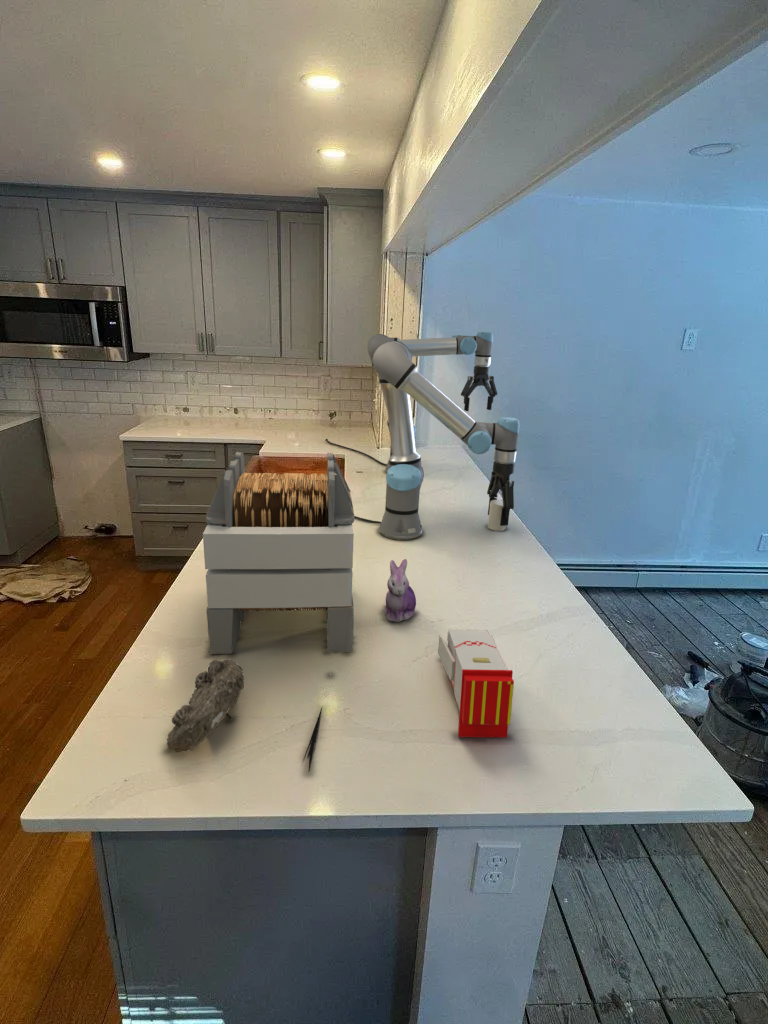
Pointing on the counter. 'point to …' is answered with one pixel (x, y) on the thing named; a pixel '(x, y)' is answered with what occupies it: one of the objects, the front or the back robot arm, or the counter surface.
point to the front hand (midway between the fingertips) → (497, 519)
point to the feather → (313, 740)
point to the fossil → (206, 705)
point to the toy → (478, 682)
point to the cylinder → (495, 515)
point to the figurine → (399, 594)
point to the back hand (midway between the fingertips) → (477, 410)
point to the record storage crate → (279, 550)
